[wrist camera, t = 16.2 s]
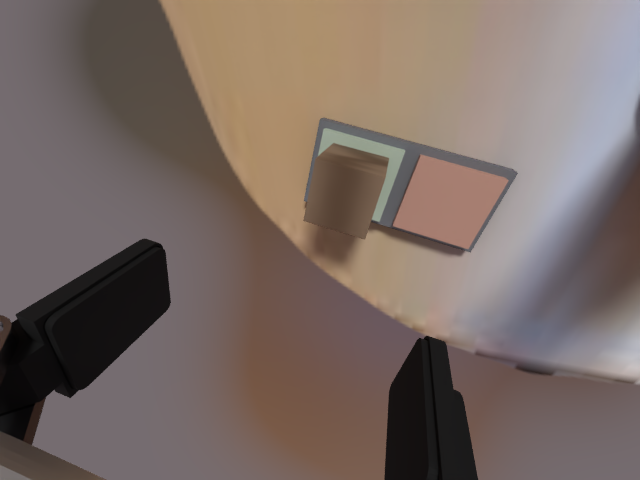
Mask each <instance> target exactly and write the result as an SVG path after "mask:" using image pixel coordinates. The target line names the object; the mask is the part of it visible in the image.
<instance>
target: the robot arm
mask: <svg viewBox="0 0 640 480" xmlns="http://www.w3.org/2000/svg"><path fill="white" fill-rule="evenodd" d="M170 303H171V301H170V291H169V281H168V272H167V264H166V253H165V250H164V249H163V247H162V245H161V244H159V243H157V242H154V241H151V240H148V239H142V240H140V241H138V242H136V243H135V244H133V245H131V246H129V247H128V248H126V249H124V250H123V251H121V252H120V253H118V254H116V255H114V256H113V257H111V258H109V259H108V260H106V261H104V262H103V263H101V264H100V265H98V266H96V267H94V268H93V269H91V270H89V271H88V272H86V273H84V274H83V275H81V276H79V277H78V278H76V279H74V280H73V281H71V282H69V283H68V284H66V285H64V286H62V287H61V288H59V289H57V290H56V291H54V292H53V293H51V294H49V295H47V296H46V297H44V298H43V299H41V300H39V301H37V302H36V303H34V304H32V305H31V306H29V307H27V308H26V309H24V310H22V311H21V312H19V313H17V314H16V317H17V320H15V321H14V322H12V323H11V321H10V319H9V318H7V317H5V316H2V315H0V480H106V479H104V478H101V477H99V476H97V475H95V474H93V473H91V472H89V471H86V470H84V469H82V468H80V467H78V466H76V465H73V464H71V463H69V462H67V461H65V460H62V459H60V458H58V457H56V456H54V455H52V454H49V453H47V452H45V451H43V450H41V449H38V448H36V447H34V446H32V443H33V440H34V436H35V433H36V430H37V426H38V423H39V419H40V416H41V413H42V409H43V406H44V402H45V399H46V396H47V395H49V394H50V393H51V392H52V391H53V390H54V389H55V391H56V392H58V393H60V394H62V395H64V396H67V397H69V398H71V397H72V396H73V395H74V394H75V393H76V392H77V391H78V390H82V389H84V388H86V387H87V386H88V385H89V384H91V383H92V382H93V381H94V380H95V379H96V378H97V377H98V376H99V375H100V374H101V373H102V372H103V371H104V370H105V369H106V368H107V367H108V366H109V365H110V364H112V363H113V362H114V360H116V359H117V358H118V357H119V356H120V355H121V354H122V353H123V352H124V351H125V350H126V349H127V348H128V347H129V346H130V345H131V344H132V343H133V342H134V341H135V340H137V339H138V338H139V337H140V336H141V335H142V334H143V333H144V332H145V331H146V330H147V329H148V328H149V327H150V326H151V325H152V324H153V323H154V322H155V321H156V320H157V319H158V318H159V317H161V316H162V315H163V314H164V313H165V312H166V311H167V310H168V308H169V306H170ZM385 480H478V477H477V472H476V466H475V460H474V455H473V449H472V444H471V439H470V433H469V427H468V422H467V417H466V411H465V406H464V401H463V397H462V395H461V394H460V392H458V391H456V390H454V389H453V384H452V378H451V371H450V365H449V358H448V352H447V346H446V343H445V342H444V341H441V340H438V339H435V338H432V337H429V336H426V337H425V338H424V339H421V338H419V339H418V340H417V341H416V343H415V345H414V347H413V348H412V350H411V352H410V353H409V355H408V357H407V358H406V360H405V362H404V364H403V365H402V367H401V369H400V370H399V372H398V374H397V375H396V377H395V379H394V381H393V382H392V384H391V387H390V391H389V404H388V423H387V442H386V461H385Z"/></svg>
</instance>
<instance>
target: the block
mask: <svg viewBox="0 0 640 480" xmlns="http://www.w3.org/2000/svg"><path fill="white" fill-rule="evenodd" d="M388 162H389V158H388V157H384V156H380V155H377V154H373V153H369V152H365V151H362V150H358V149H354V148H351V147H347V146H343V145H339V144H336V143H333V144H332V145H330V146H329V147H328V148H327V149H326V150H325V151H323V152H322V153H321V154H320V155H319V156H318V157H317V158H315V164H314V169H313V174H312V179H311V184H310V190H309V195H308V200H307V205H306V210H305V216H304V221H306V222H309V223H312V224H316V225H319V226H322V227H325V228H329V229H332V230H335V231H339V232H342V233H345V234H348V235H352V236H355V237H358V238H362V239H365V238H366V235H367V232H368V229H369V226H370V223H371V220H372V217H373V214H374V211H375V208H376V205H377V202H378V199H379V196H380V193H381V190H382V187H383V184H384V181H385V178H386V173H387V167H388Z"/></svg>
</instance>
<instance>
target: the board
mask: <svg viewBox="0 0 640 480" xmlns="http://www.w3.org/2000/svg"><path fill="white" fill-rule="evenodd" d="M333 143H336V144H339V145H343V146H347V147H351V148H354V149H358V150H362V151H365V152H369V153H373V154H377V155H380V156H384V157H388V158H389V162H388V167H387V173H386V178H385V181H384V184H383V187H382V190H381V193H380V196H379V199H378V202H377V205H376V208H375V211H374V214H373V217H372V220H371V222H374V223H377V224H380V225H383V226H387V227H390V228H393V229H396V230H400V231H403V232H406V233H409V234H412V235H416V236H419V237H422V238H425V239H429V240H432V241H435V242H438V243H442V244H445V245H448V246H451V247H455V248H458V249H461V250H464V251H468V252H471V250H472V249H473V247H474V245H475V244H476V242H477V240H478V239H479V237H480V235H481V234H482V232H483V230H484V229H485V227H486V225H487V224H488V222H489V220H490V219H491V217H492V215H493V214H494V212H495V210H496V209H497V207H498V205H499V204H500V202H501V200H502V199H503V197H504V195H505V194H506V192H507V190H508V189H509V187H510V185H511V184H512V182H513V180H514V179H515V177H516V175H517V174H518V173H517V172H516V171H515V170H513V169H510V168H506V167H503V166H499V165H495V164H492V163H488V162H484V161H481V160H477V159H473V158H470V157H466V156H462V155H459V154H455V153H451V152H448V151H444V150H440V149H437V148H433V147H429V146H426V145H422V144H418V143H415V142H411V141H407V140H404V139H400V138H396V137H393V136H389V135H385V134H382V133H378V132H374V131H371V130H367V129H363V128H360V127H356V126H352V125H349V124H345V123H341V122H338V121H334V120H330V119H327V118H321V119H320V122H319V127H318V132H317V137H316V142H315V147H314V152H313V157H312V162H311V167H310V172H309V178H308V183H307V188H306V193H305V198H304V201H306V202H307V200H308V195H309V190H310V184H311V179H312V174H313V169H314V164H315V158H317V157H318V156H319V155H320V154H321V153H322V152H323V151H325V150H326V149H327V148H328V147H329V146H330V145H332V144H333Z"/></svg>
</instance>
